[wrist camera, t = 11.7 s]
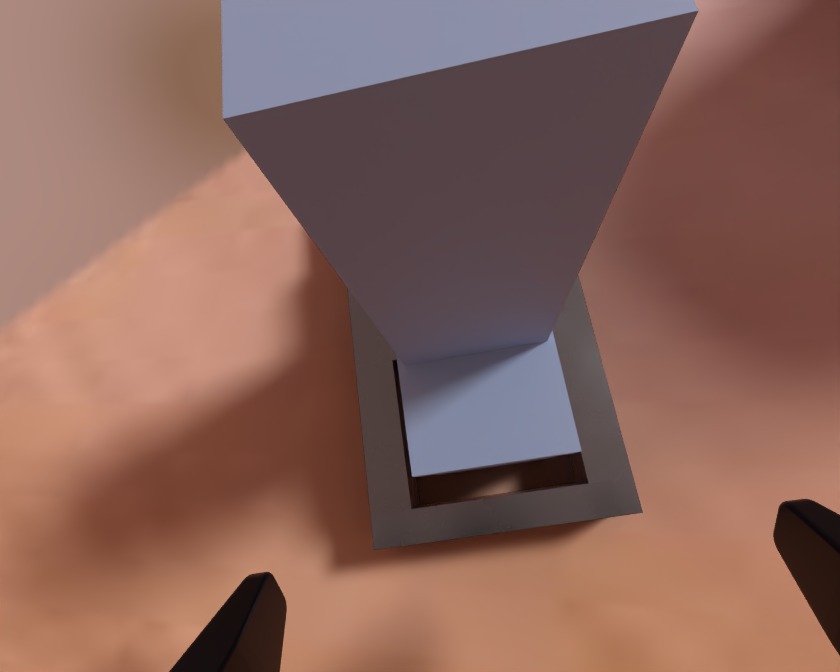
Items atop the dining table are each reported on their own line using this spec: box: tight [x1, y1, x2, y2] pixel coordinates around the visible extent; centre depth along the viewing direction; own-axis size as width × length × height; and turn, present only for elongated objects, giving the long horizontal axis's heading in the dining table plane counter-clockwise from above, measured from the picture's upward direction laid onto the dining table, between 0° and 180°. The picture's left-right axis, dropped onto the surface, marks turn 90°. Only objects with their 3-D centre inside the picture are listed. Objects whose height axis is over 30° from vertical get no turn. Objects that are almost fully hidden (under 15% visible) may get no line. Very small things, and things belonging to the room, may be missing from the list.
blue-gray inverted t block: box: [221, 0, 698, 477], centre depth 11 cm, size 10×4×14 cm, turn 8°
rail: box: [347, 275, 643, 550], centre depth 17 cm, size 14×8×2 cm, turn 8°
